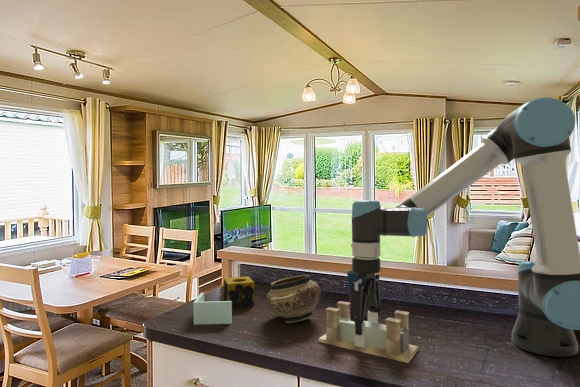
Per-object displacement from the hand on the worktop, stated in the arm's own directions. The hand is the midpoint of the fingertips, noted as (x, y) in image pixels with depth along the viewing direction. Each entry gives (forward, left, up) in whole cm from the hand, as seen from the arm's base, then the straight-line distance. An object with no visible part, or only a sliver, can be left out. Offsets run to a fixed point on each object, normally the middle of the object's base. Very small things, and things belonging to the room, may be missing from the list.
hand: (366, 340), depth 104 cm
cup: (+12, -22, -2) cm, 25 cm away
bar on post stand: (0, 0, -2) cm, 2 cm away
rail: (0, 0, -1) cm, 1 cm away
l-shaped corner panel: (+51, +5, -2) cm, 52 cm away
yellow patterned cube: (+54, -9, -2) cm, 55 cm away
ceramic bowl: (+28, -7, -2) cm, 29 cm away
